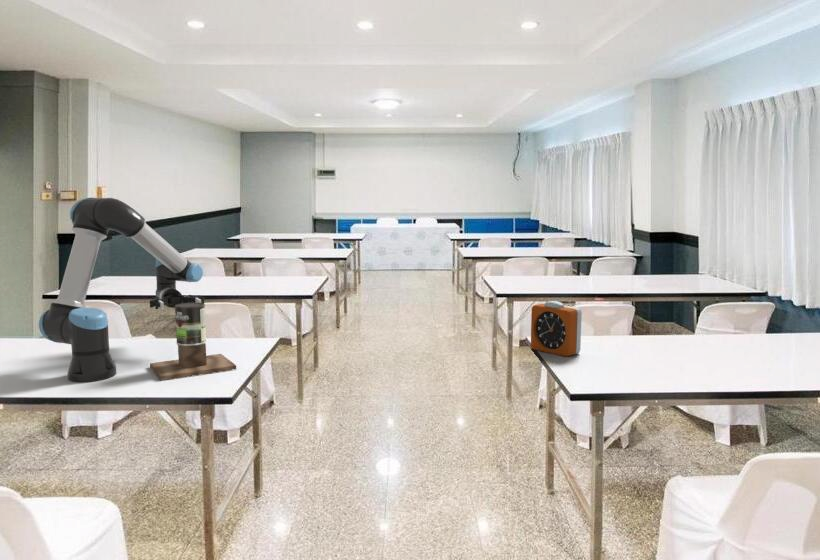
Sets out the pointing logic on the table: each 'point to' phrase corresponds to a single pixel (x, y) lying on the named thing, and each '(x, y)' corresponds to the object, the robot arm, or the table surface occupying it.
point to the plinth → (180, 372)
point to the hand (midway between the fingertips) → (181, 304)
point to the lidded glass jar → (190, 324)
